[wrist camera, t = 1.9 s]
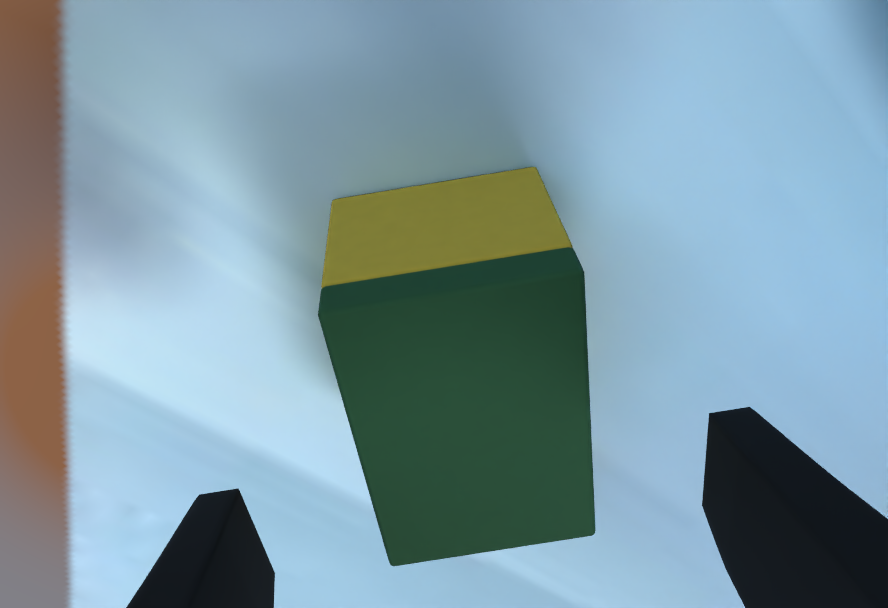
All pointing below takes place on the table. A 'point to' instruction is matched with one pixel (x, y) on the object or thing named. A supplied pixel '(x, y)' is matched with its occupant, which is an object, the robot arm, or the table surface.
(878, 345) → the table surface
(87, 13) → the table surface
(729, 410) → the robot arm
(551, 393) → the sponge
